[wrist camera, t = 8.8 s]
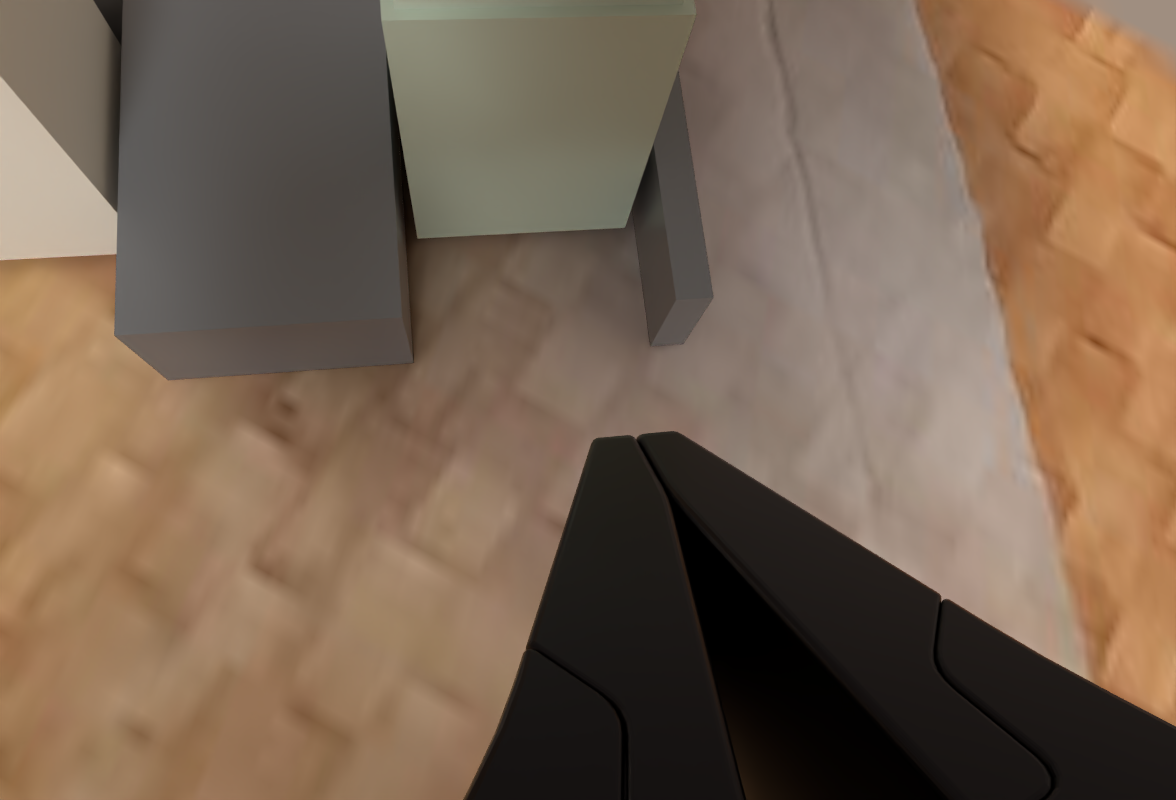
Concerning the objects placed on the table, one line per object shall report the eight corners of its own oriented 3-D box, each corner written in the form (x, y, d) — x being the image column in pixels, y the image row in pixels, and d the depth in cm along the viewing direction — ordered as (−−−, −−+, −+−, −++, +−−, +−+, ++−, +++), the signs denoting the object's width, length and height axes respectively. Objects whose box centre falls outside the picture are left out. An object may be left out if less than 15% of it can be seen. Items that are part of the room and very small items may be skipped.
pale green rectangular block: (624, 228, 22) (708, -21, 14) (417, 238, 21) (374, -16, 13) (605, 84, 23) (673, -226, 15) (407, 90, 22) (362, -232, 14)
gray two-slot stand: (682, 343, 21) (713, 297, 19) (-148, 402, 19) (-260, 359, 16) (638, 36, 24) (660, -47, 21) (-113, 53, 21) (-207, -39, 18)
